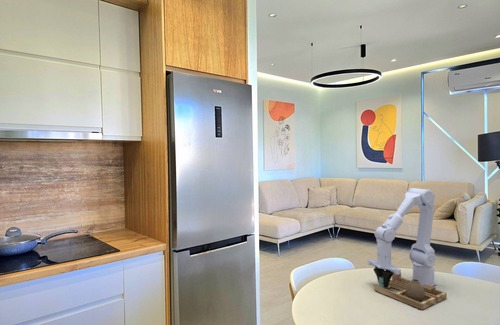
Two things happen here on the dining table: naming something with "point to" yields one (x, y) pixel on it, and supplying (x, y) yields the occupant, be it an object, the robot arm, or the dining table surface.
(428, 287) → the walnut cube
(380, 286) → the tray
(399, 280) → the frame
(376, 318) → the dining table surface
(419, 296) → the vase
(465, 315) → the dining table surface
